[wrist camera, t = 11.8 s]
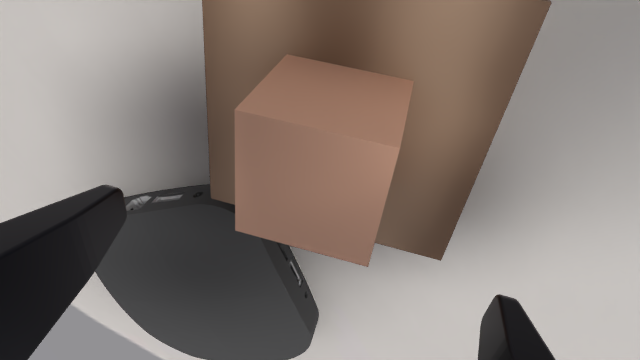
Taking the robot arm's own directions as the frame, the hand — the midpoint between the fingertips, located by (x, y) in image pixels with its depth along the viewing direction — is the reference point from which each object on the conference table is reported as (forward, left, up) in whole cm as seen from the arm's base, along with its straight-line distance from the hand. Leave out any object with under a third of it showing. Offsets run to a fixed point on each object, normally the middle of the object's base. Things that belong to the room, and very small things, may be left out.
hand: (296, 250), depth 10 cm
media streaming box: (+9, +18, -12) cm, 23 cm away
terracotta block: (+1, +2, -9) cm, 9 cm away
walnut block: (+1, +2, -12) cm, 12 cm away
